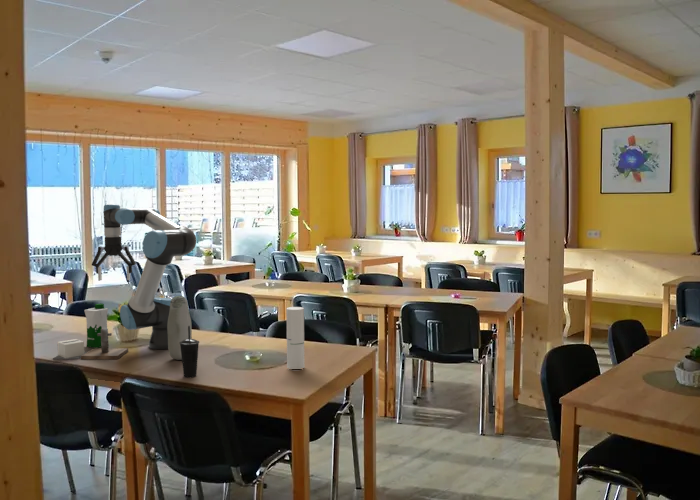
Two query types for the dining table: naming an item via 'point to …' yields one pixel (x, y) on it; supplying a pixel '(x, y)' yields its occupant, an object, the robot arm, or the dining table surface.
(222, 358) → the dining table surface
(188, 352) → the drinking cup
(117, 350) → the post stand
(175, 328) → the grey bottle
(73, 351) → the white drawer box
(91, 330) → the milk carton
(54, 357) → the mat
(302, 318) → the cylindrical container
